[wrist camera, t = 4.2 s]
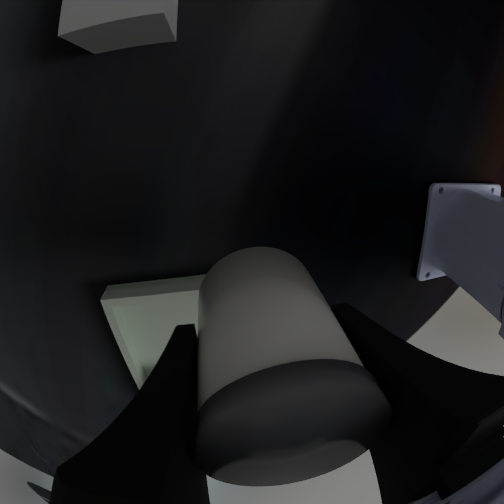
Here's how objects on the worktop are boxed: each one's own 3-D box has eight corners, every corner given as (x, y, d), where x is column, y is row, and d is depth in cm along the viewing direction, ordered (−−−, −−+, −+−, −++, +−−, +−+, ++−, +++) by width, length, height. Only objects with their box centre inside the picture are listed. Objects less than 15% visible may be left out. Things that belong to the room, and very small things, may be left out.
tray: (284, 264, 20) (291, 278, 18) (285, 383, 25) (289, 398, 23) (107, 285, 18) (100, 300, 17) (153, 397, 24) (151, 412, 22)
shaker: (317, 238, 12) (418, 367, 5) (310, 336, 14) (365, 463, 7) (187, 251, 11) (171, 413, 5) (204, 349, 13) (212, 492, 7)
